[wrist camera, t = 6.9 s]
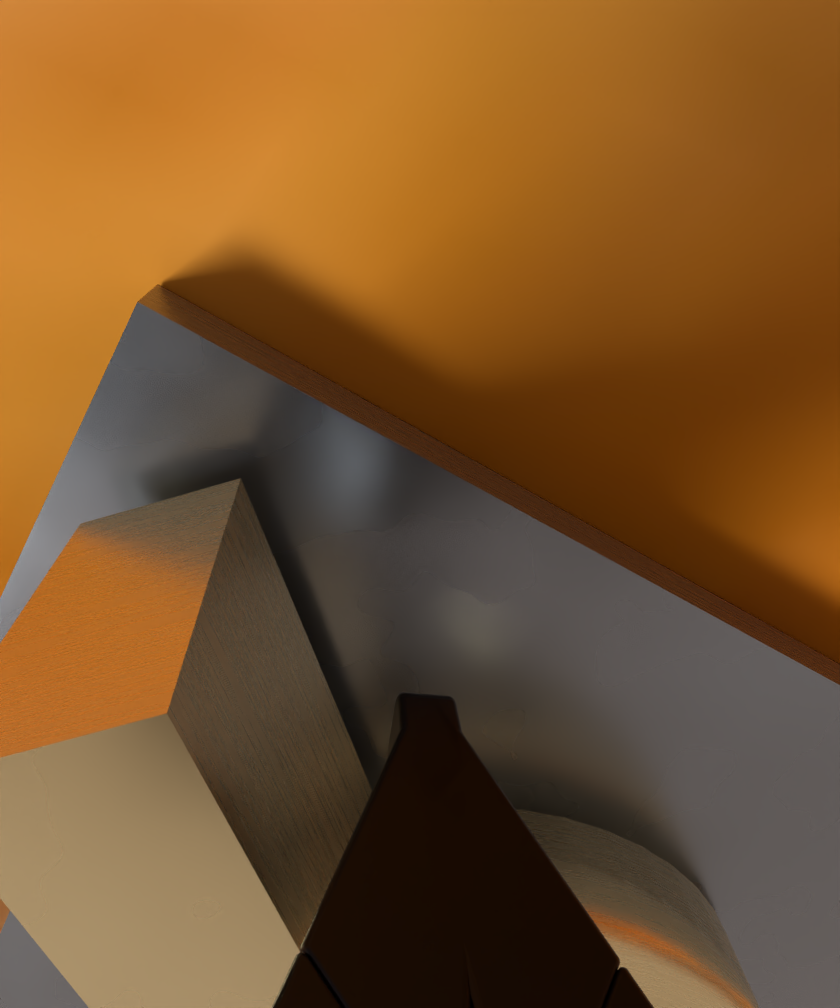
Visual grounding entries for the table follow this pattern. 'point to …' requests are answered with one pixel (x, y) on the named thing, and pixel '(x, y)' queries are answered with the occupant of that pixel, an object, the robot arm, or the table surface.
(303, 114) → the table surface
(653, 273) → the table surface
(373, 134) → the table surface
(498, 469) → the table surface
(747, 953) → the flange plate
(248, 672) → the gold disc with bar
